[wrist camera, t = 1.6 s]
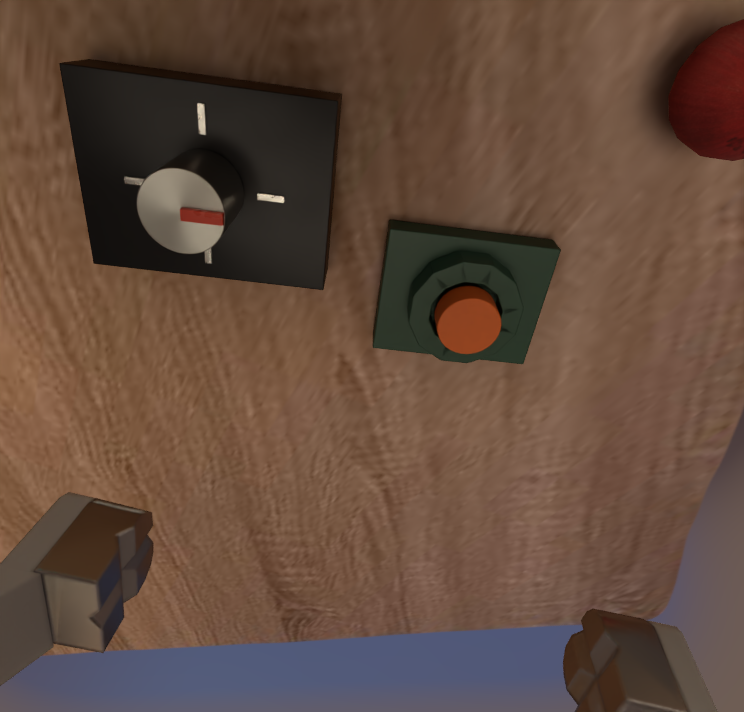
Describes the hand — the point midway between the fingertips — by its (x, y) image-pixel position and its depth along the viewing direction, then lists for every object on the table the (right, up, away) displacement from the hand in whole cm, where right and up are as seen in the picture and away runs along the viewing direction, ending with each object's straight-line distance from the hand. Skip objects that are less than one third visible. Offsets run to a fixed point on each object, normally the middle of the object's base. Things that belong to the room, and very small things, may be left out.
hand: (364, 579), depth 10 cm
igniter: (+6, +8, +24) cm, 26 cm away
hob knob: (-9, +13, +18) cm, 23 cm away
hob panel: (-8, +14, +20) cm, 26 cm away
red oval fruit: (+17, +18, +18) cm, 31 cm away
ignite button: (+6, +7, +21) cm, 23 cm away
